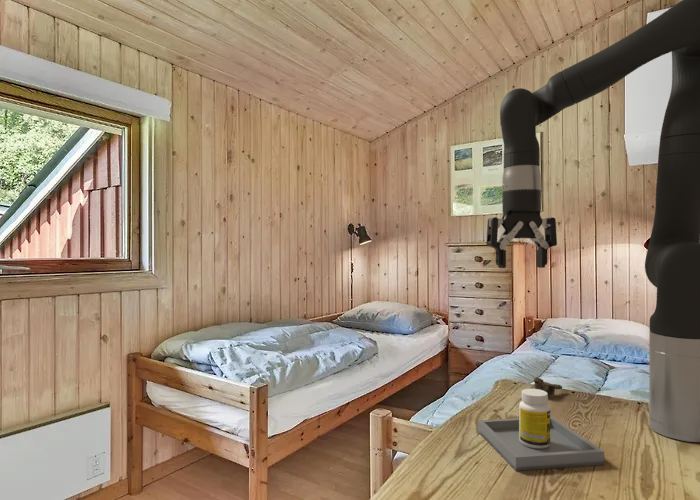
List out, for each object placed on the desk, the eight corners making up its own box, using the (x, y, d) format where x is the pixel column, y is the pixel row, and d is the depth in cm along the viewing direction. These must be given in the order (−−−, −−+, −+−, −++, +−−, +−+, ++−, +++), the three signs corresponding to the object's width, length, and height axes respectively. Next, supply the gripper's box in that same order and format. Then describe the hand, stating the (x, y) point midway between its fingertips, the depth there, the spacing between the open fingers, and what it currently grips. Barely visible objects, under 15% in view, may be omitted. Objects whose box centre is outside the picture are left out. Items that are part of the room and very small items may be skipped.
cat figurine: (527, 394, 99) (530, 376, 100) (554, 397, 102) (557, 379, 103) (537, 398, 97) (540, 379, 97) (564, 401, 100) (567, 382, 100)
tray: (552, 427, 83) (552, 416, 83) (604, 464, 69) (604, 451, 69) (477, 431, 81) (477, 420, 81) (515, 470, 67) (515, 457, 67)
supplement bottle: (553, 450, 72) (553, 397, 72) (522, 448, 73) (521, 396, 73) (546, 438, 77) (546, 388, 77) (516, 436, 78) (516, 386, 78)
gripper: (496, 187, 90) (496, 269, 91) (564, 187, 92) (564, 268, 92) (481, 191, 98) (481, 267, 98) (544, 191, 99) (544, 266, 100)
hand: (521, 267), depth 95 cm, fingers open, 8 cm apart
